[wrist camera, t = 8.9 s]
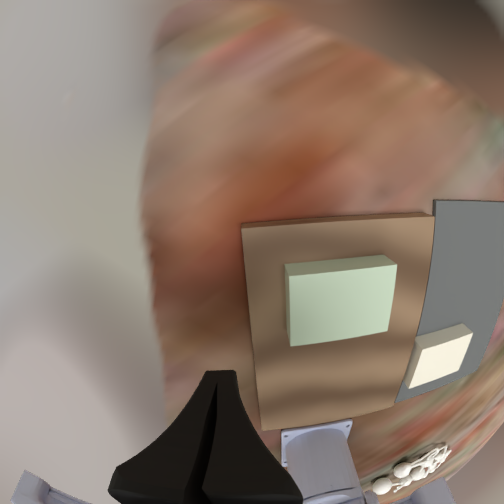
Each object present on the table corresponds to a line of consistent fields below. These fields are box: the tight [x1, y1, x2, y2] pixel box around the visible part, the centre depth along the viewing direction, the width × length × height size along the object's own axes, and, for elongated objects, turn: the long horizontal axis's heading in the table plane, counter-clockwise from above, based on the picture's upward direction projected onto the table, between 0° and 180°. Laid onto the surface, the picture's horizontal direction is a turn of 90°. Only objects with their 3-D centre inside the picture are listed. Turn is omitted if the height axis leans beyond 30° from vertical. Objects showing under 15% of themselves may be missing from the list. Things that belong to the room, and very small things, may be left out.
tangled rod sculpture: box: [372, 445, 452, 494], centre depth 31 cm, size 19×14×4 cm
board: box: [241, 213, 435, 431], centre depth 20 cm, size 20×14×2 cm
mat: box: [394, 200, 504, 403], centre depth 21 cm, size 22×14×1 cm, turn 5°
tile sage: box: [284, 255, 397, 346], centre depth 17 cm, size 5×7×2 cm
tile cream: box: [403, 323, 473, 389], centre depth 21 cm, size 5×7×2 cm
